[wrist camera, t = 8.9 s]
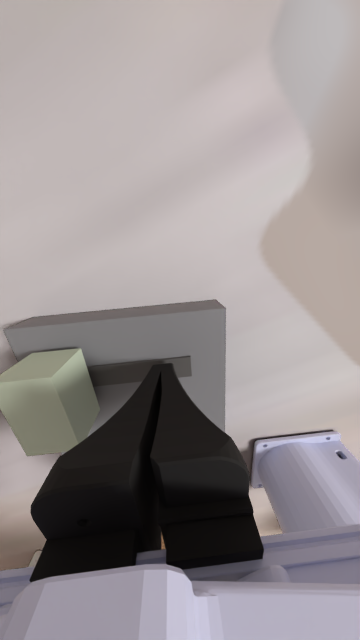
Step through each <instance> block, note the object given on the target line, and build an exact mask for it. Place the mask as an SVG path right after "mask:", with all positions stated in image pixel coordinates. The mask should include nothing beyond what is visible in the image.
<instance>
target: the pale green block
mask: <svg viewBox="0 0 360 640" xmlns="http://www.w3.org/2000/svg"><path fill="white" fill-rule="evenodd" d="M0 410H1V412H2V413H3V415H4V417H5V418H6V420H7V422H8V424H9V425H10V427H11V429H12V431H13V432H14V434H15V436H16V438H17V439H18V441H19V443H20V444H21V446H22V448H23V450H24V451H25V453H26V455H27V456H34V455H43V454H52V453H60V452H67V451H69V450H70V449H72V448H73V447H74V446H76V445H77V444H79V443H80V442H82V441H83V440H84V439H86V438H87V436H88V434H89V432H90V430H91V428H92V426H93V424H94V421H95V419H96V417H97V415H98V413H99V411H100V407H99V404H98V401H97V398H96V394H95V391H94V388H93V385H92V382H91V379H90V376H89V372H88V369H87V366H86V363H85V360H84V357H83V353H82V350H81V348H78V349H68V350H58V351H48V352H38V353H31V354H30V355H28V356H27V357H25V358H24V359H22V360H21V361H19V362H18V363H17V364H15V365H14V366H12V367H11V368H9V369H8V370H6V371H5V372H3V373H2V374H0Z"/></svg>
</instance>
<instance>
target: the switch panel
mask: <svg viewBox="0 0 360 640" xmlns="http://www.w3.org/2000/svg"><path fill="white" fill-rule="evenodd" d="M3 331H4V333H5V335H6V338H7V340H8V342H9V344H10V346H11V348H12V350H13V352H14V355H15V357H16V359H17V361H18V362H19V361H21V360H22V359H24V358H25V357H27V356H28V355H30V354H31V353H38V352H48V351H58V350H68V349H78V348H81V350H82V353H83V357H84V360H85V363H86V366H87V369H88V372H89V376H90V379H91V382H92V385H93V388H94V391H95V394H96V398H97V401H98V404H99V407H100V411H99V413H98V415H97V417H96V419H95V421H94V424H93V426H92V428H91V430H90V432H89V434H88V436H90V435H91V434H92V433H93V432H95V431H96V430H97V429H98V428H100V427H101V426H102V425H103V424H104V423H106V422H107V421H108V420H109V419H110V418H111V417H112V416H113V415H114V414H115V413H116V412H117V411H118V410H119V409H120V408H121V407H122V406H123V405H124V404H125V403H126V402H127V401H128V399H129V398H130V397H131V396H132V395H133V393H134V392H135V391H136V390H137V388H138V387H139V386H140V384H141V383H142V381H143V380H144V378H145V377H146V375H147V374H148V372H149V370H150V369H151V367H152V366H153V365H156V364H166V363H172V364H173V366H174V370H175V373H176V375H177V377H178V379H179V381H180V383H181V385H182V387H183V388H184V390H185V391H186V393H187V394H188V396H189V397H190V398H191V400H192V401H193V402H194V403H195V405H196V406H197V407H198V408H199V409H200V410H201V411H202V412H203V413H204V414H205V415H206V416H207V417H208V419H210V420H211V421H212V422H213V423H214V424H215V425H216V426H217V427H218V428H220V429H221V430H222V431H223V432H225V354H226V308H225V307H224V306H223V305H222V304H220V303H219V302H218V301H217V300H207V301H196V302H186V303H175V304H165V305H154V306H144V307H133V308H123V309H113V310H102V311H92V312H81V313H71V314H60V315H50V316H39V317H32V318H30V319H27V320H25V321H23V322H20V323H18V324H16V325H13V326H11V327H8V328H6V329H4V330H3ZM88 436H87V437H88ZM64 453H66V452H61V454H62V455H63V454H64Z"/></svg>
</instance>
